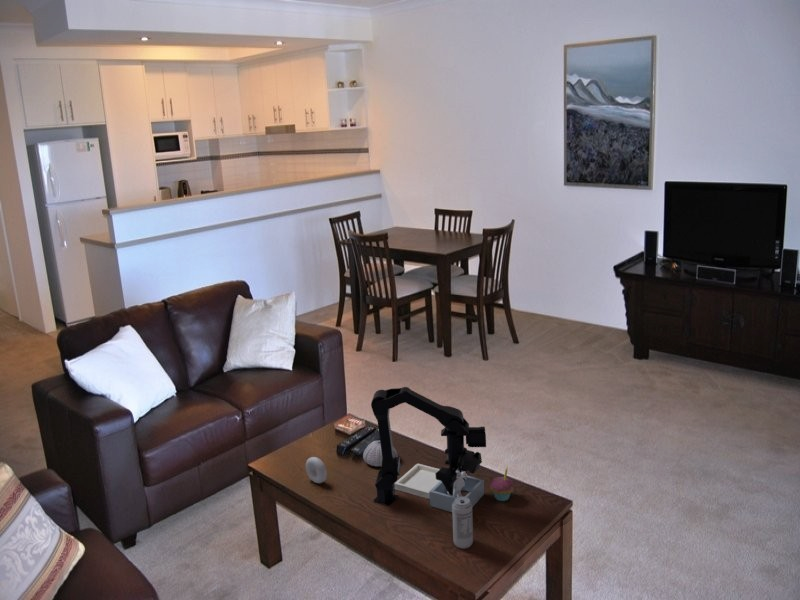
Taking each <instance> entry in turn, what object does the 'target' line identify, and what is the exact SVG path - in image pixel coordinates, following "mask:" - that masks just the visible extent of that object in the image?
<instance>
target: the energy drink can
mask: <svg viewBox="0 0 800 600" xmlns="http://www.w3.org/2000/svg"><path fill="white" fill-rule="evenodd" d="M451 514H452V533H453V534H452V536H453V538H452V539H453V540H452V541H453V544H454V545H455V546H456V547H457V548H458V549H463V550H465V549H469V548H470V547H471V546H472V545H473V543H474V526H473V524H474V523H473V522H474V521H473V507H472V504H471V502H470V499H469V498H467V497H465V496H463V495H462V496H460V497H456V498H455V499H454V502H453V504H452V512H451Z"/></svg>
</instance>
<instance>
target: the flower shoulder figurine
mask: <svg viewBox="0 0 800 600" xmlns="http://www.w3.org/2000/svg"><path fill="white" fill-rule="evenodd" d="M456 473H457V477H456V478H457V480H456V481H455V482H454V485H453V494H452V496H454V497H460V496H463V495H462V490H461V489H462V487H464V486H465V481H464V479H467V478H465V477H466V476H468V473H467V474H466V473H464V471H463V472H461V473H460V471H458V470H457V471H456ZM463 478H464V479H463ZM446 494H447V495H450V496H451V494H449V493H448V492H447V493H446Z"/></svg>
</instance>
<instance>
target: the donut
mask: <svg viewBox="0 0 800 600" xmlns="http://www.w3.org/2000/svg"><path fill="white" fill-rule="evenodd" d="M305 473H306V474H307V476H308V478H309V479H310V480H311V481H312V482H314V483H315V484H322V483H324V482H325V481H326V479H327V475H328V471H327V468H326V465H325V463H324V462H323V460H321V459H320V458H319V457H316V456H311V457H309V458H308V459H307V460H306V463H305Z"/></svg>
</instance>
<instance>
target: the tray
mask: <svg viewBox="0 0 800 600" xmlns="http://www.w3.org/2000/svg"><path fill="white" fill-rule="evenodd" d="M440 469H441V468H436V467H433V466H429V465H425V464H422V463H416V464H415V465H414V466H412V468H410V469H409V470H408V471H406V473H405V474H403V475H402V476H401V477H400V478H399V479H397V481H396V482H395V483H394V485H395V491H400V492H404V493H407V494H410V495H414V496H417V497H420V498H423V499H427V500H430V493H429V491H430V490H431V489H432V488H434V487H435V486H436V485H437V484H438V483H439V482H440V480H436V474H435V473H436V472H438V471H439V470H440Z"/></svg>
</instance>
